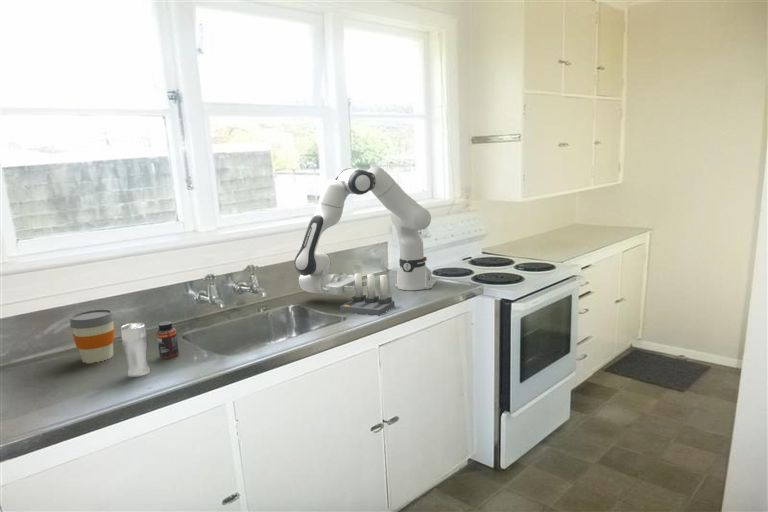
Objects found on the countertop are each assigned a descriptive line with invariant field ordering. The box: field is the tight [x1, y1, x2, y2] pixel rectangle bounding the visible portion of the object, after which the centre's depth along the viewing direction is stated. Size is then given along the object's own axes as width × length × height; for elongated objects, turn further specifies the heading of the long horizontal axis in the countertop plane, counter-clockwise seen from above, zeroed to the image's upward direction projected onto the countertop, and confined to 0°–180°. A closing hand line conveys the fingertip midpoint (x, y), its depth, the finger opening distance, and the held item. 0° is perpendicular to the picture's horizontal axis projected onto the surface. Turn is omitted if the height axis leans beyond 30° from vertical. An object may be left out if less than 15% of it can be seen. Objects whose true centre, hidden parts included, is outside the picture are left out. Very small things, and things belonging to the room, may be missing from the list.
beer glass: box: [120, 322, 151, 378], centre depth 156 cm, size 7×7×15 cm
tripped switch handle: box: [351, 272, 367, 301], centre depth 220 cm, size 5×4×11 cm
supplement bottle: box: [156, 321, 180, 360], centre depth 170 cm, size 6×6×11 cm
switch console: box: [339, 273, 396, 317], centre depth 214 cm, size 14×18×14 cm
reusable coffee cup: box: [69, 308, 115, 364], centre depth 171 cm, size 13×13×15 cm
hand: (360, 286), depth 220 cm, fingers open, 8 cm apart
